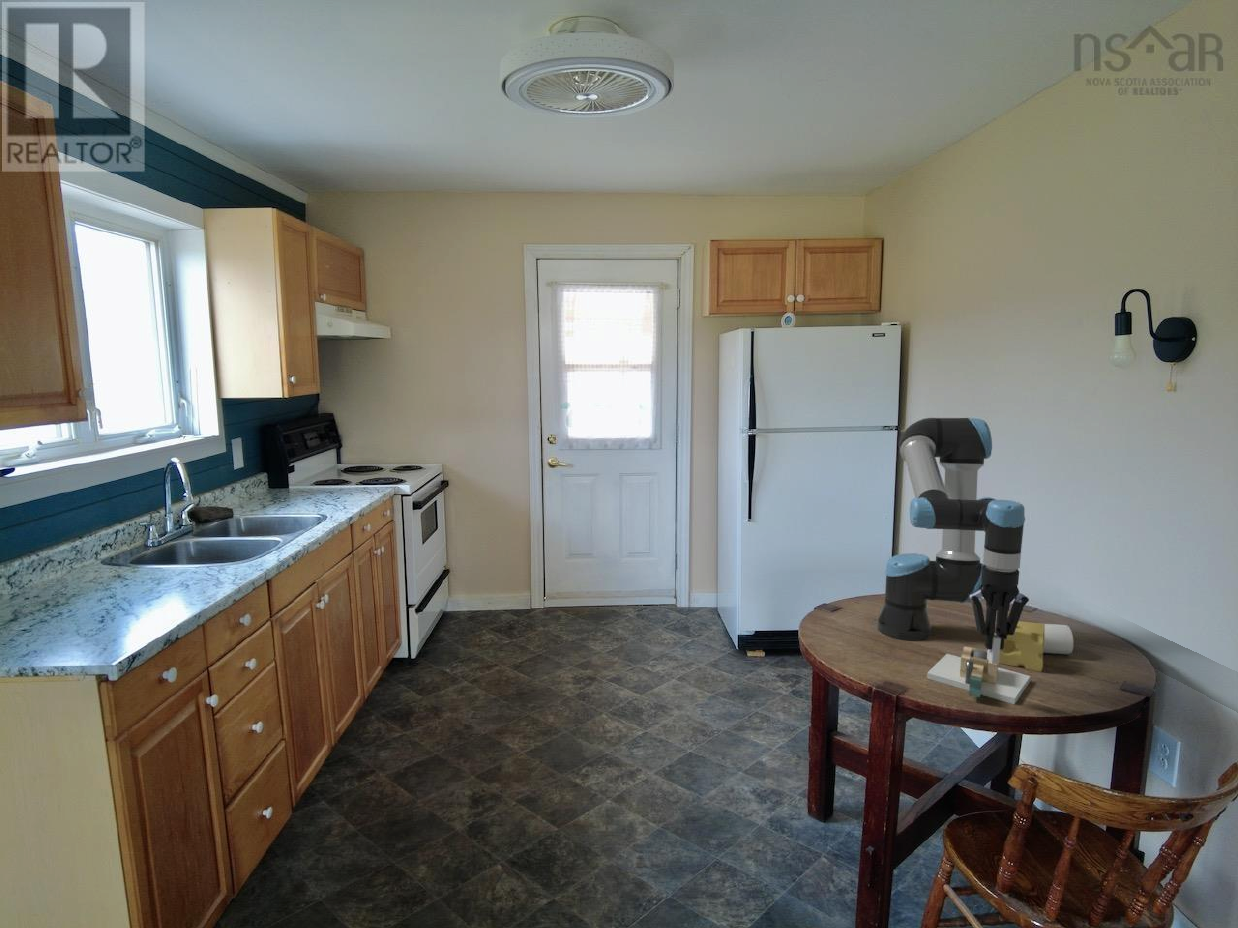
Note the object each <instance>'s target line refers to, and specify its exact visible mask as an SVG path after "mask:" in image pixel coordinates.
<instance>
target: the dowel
mask: <svg viewBox="0 0 1238 928" xmlns="http://www.w3.org/2000/svg"><path fill="white" fill-rule="evenodd" d="M972 669H973V662H971V661H967V664H966V678H965V683H966V684H970V677H971V674H972Z"/></svg>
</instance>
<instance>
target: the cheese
mask: <svg viewBox="0 0 1238 928" xmlns="http://www.w3.org/2000/svg"><path fill="white" fill-rule="evenodd" d="M1044 624H1045V623H1041V624H1040V623H1039V622H1028V621H1023V620H1022V621H1020V620H1019V621H1018V624H1017V627H1016V629H1015V632H1014V634H1013V635H1007V639H1004V648H1003V650H1000V653H999V664H1000V665H1006V666H1012V667H1023V668H1025V669H1026V670H1031V671H1034V672H1039V673H1041V672H1042V671H1043V668H1044V653H1043V650H1044V636H1045V625H1044Z"/></svg>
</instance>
